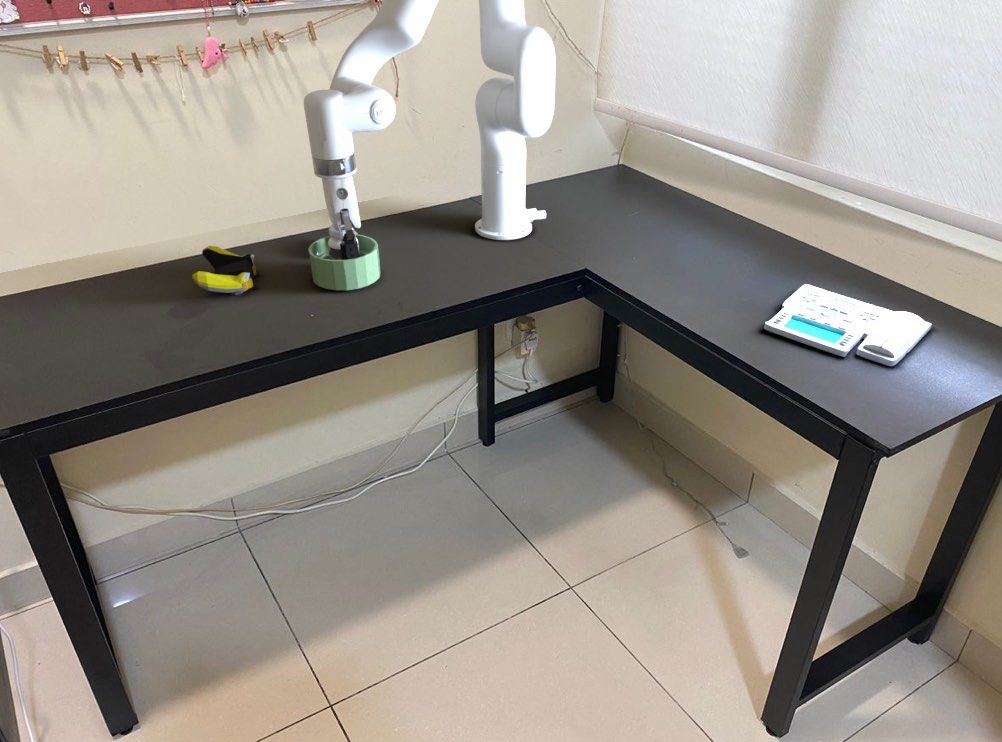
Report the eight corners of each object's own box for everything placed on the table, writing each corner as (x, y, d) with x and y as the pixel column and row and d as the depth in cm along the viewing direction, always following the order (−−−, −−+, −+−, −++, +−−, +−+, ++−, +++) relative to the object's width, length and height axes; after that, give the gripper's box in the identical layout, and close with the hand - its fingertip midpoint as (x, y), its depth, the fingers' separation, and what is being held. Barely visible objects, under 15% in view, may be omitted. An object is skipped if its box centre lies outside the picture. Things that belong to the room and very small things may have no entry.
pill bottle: (326, 275, 156) (319, 227, 150) (349, 266, 159) (343, 219, 154) (344, 284, 153) (338, 235, 147) (367, 275, 156) (362, 227, 150)
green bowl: (373, 260, 163) (370, 230, 159) (386, 287, 153) (383, 255, 149) (309, 269, 159) (304, 238, 156) (318, 297, 149) (313, 264, 146)
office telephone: (935, 316, 139) (896, 361, 126) (930, 329, 140) (892, 375, 127) (806, 277, 151) (759, 314, 138) (803, 289, 152) (757, 328, 140)
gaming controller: (195, 303, 147) (251, 300, 148) (188, 276, 144) (245, 272, 145) (208, 269, 159) (259, 266, 160) (202, 243, 156) (254, 240, 157)
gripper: (364, 176, 138) (375, 267, 148) (346, 147, 151) (358, 233, 161) (320, 182, 136) (334, 274, 146) (306, 152, 149) (320, 238, 159)
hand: (347, 252), depth 153 cm, fingers open, 9 cm apart
